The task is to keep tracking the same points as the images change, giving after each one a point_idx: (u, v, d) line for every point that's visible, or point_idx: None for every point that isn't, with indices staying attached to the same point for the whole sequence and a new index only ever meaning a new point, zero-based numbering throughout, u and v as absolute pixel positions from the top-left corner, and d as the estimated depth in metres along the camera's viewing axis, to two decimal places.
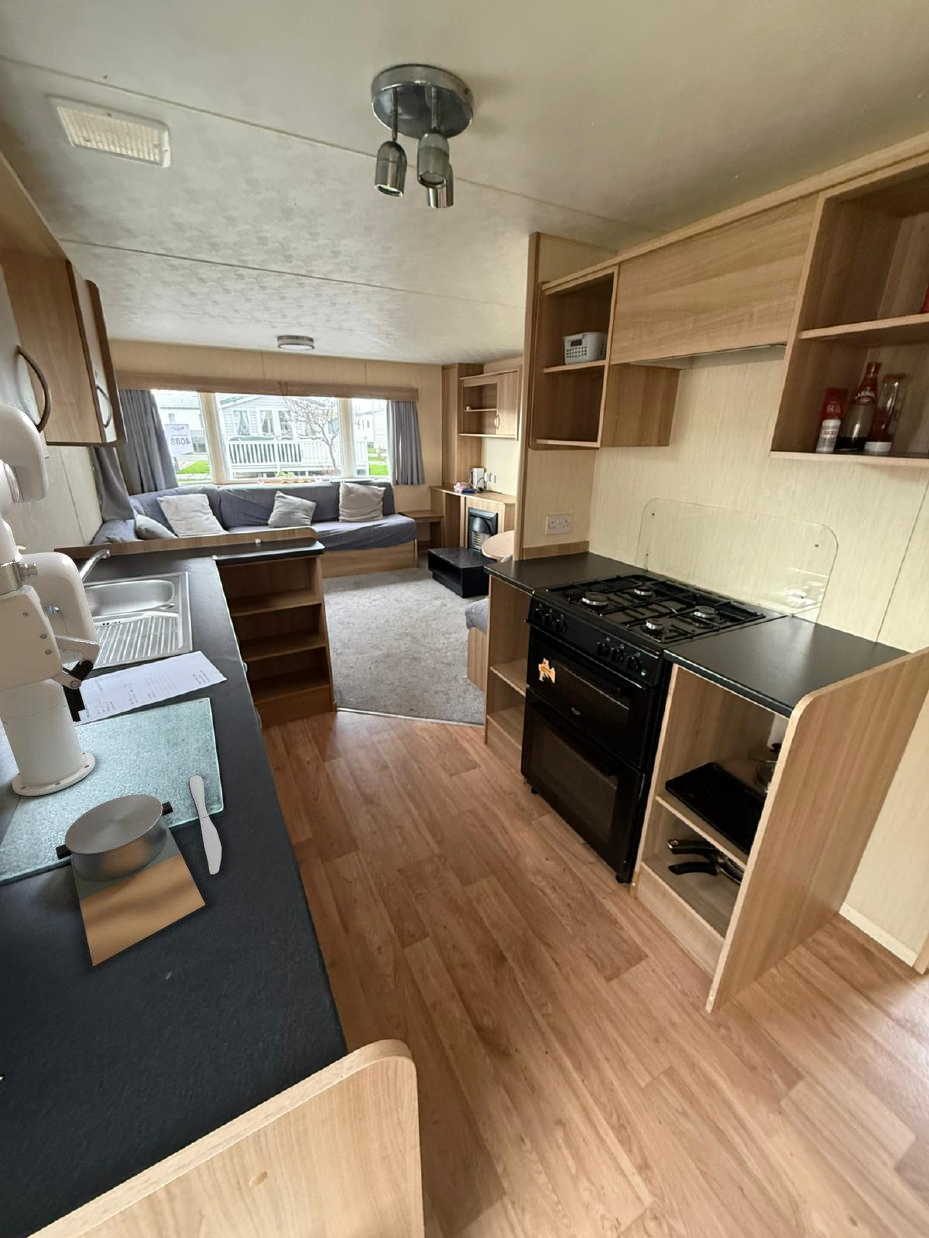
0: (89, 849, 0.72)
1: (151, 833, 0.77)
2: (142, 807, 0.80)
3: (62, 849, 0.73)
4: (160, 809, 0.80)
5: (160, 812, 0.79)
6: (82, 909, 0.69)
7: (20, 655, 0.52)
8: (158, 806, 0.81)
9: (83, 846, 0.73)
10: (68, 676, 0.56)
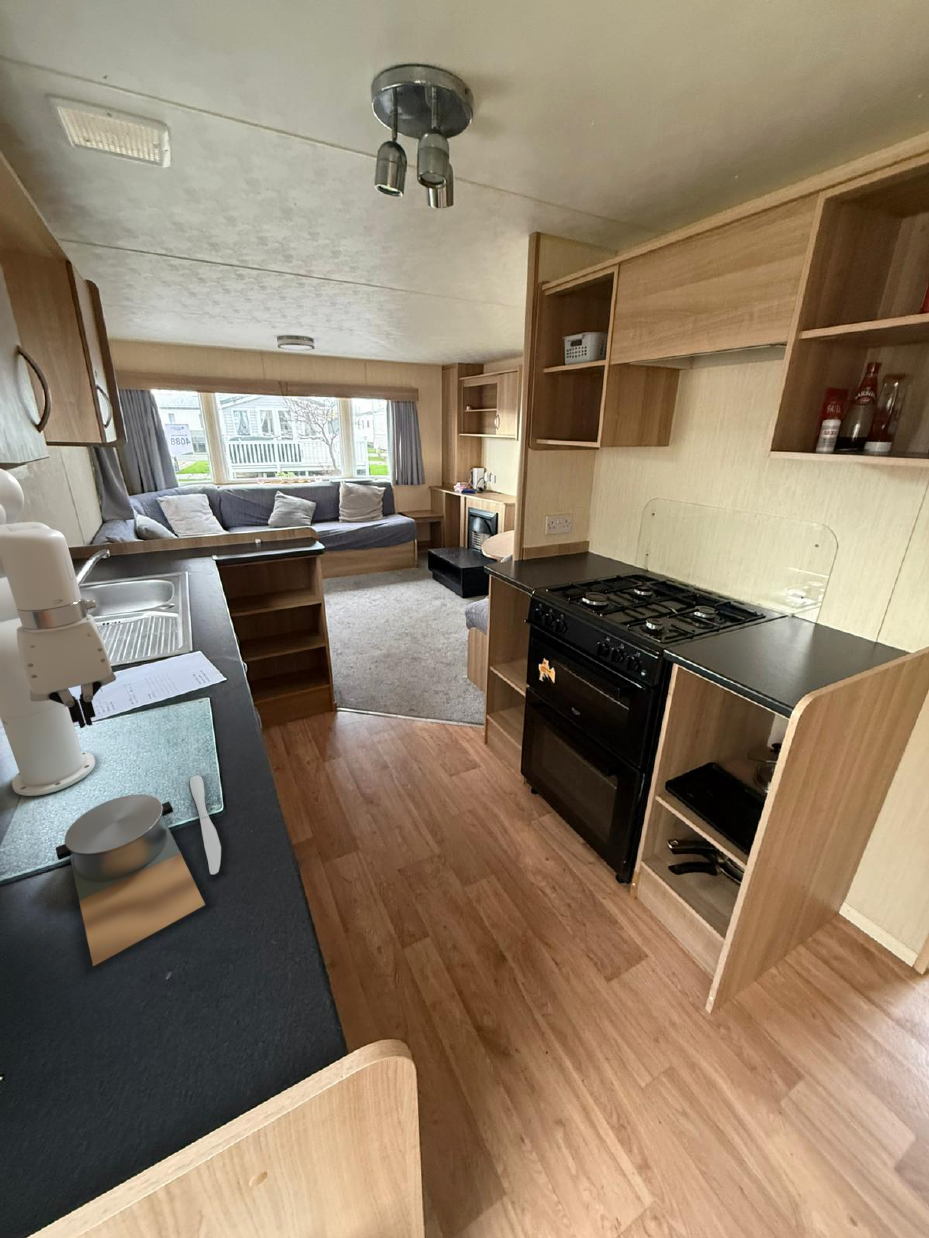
0: (89, 849, 0.72)
1: (151, 833, 0.77)
2: (142, 807, 0.80)
3: (62, 849, 0.73)
4: (160, 809, 0.80)
5: (160, 812, 0.79)
6: (82, 909, 0.69)
7: (85, 663, 0.76)
8: (158, 806, 0.81)
9: (83, 846, 0.73)
10: (91, 691, 0.78)
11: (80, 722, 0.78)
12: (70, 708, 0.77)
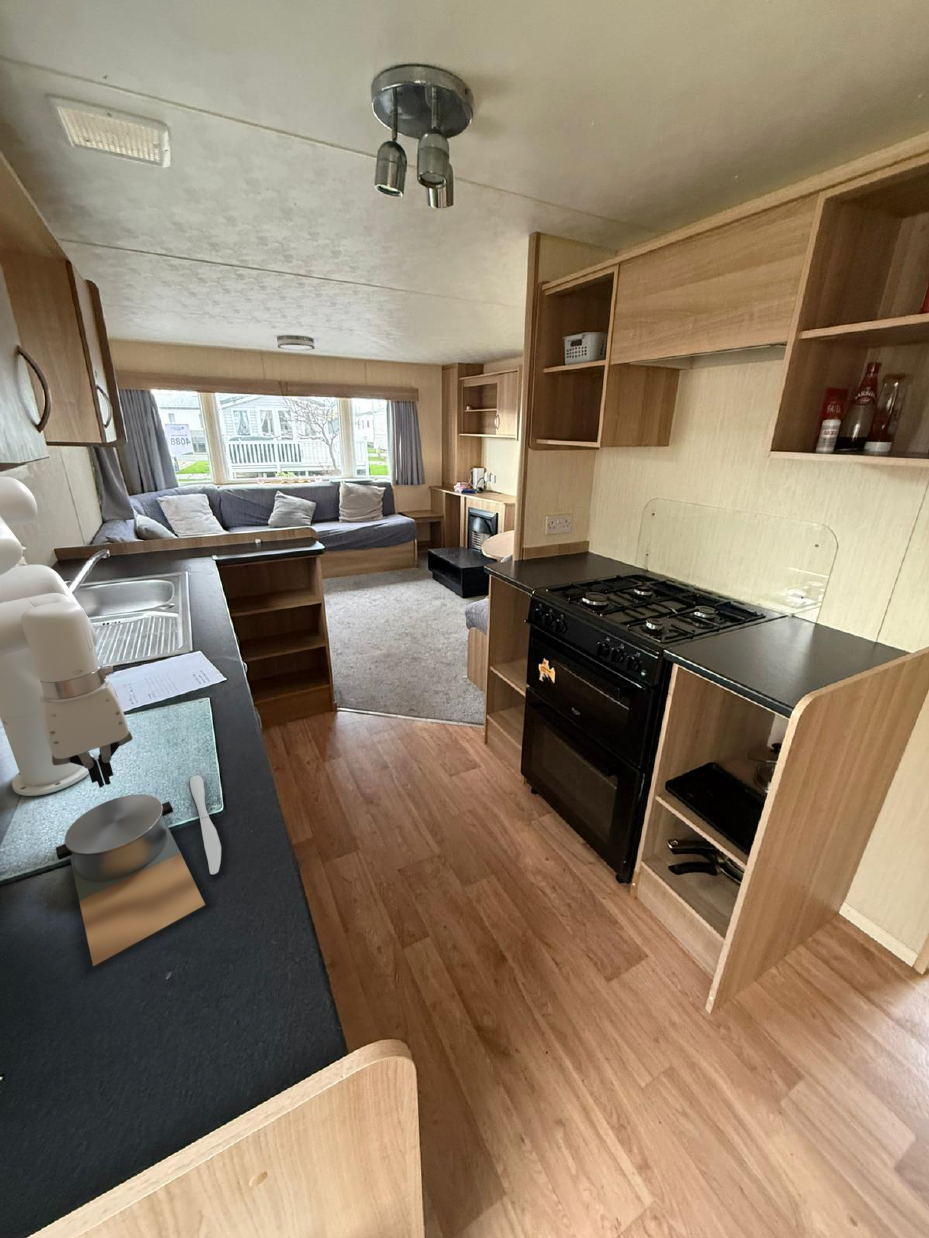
0: (89, 849, 0.72)
1: (151, 833, 0.77)
2: (142, 807, 0.80)
3: (62, 849, 0.73)
4: (160, 809, 0.80)
5: (160, 812, 0.79)
6: (82, 909, 0.69)
7: (103, 726, 0.79)
8: (158, 806, 0.81)
9: (83, 846, 0.73)
10: (109, 752, 0.82)
11: (99, 782, 0.81)
12: (89, 769, 0.81)
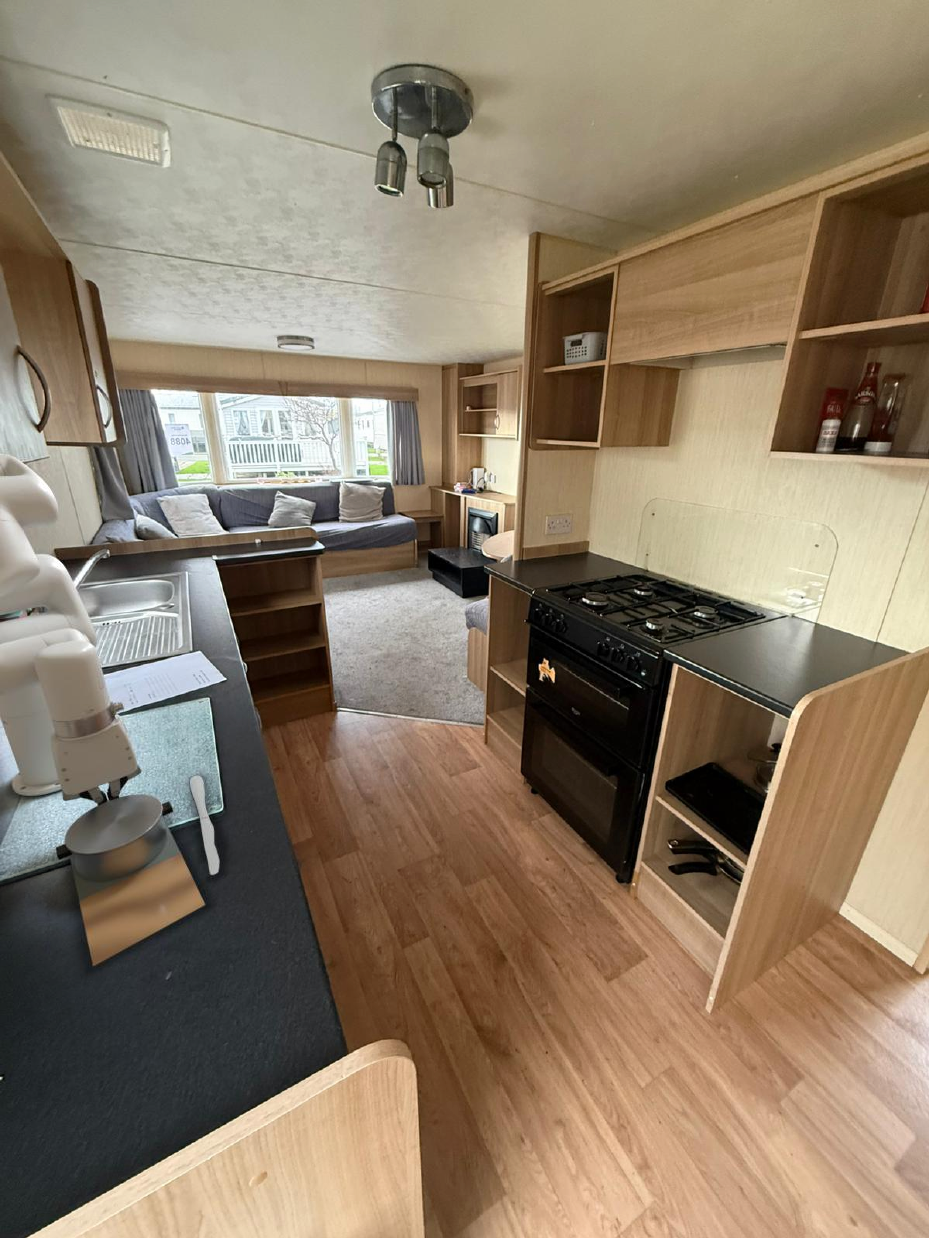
0: (89, 849, 0.72)
1: (151, 833, 0.77)
2: (142, 807, 0.80)
3: (62, 849, 0.73)
4: (160, 809, 0.80)
5: (160, 812, 0.79)
6: (82, 909, 0.69)
7: (113, 762, 0.80)
8: (158, 806, 0.81)
9: (83, 846, 0.73)
10: (118, 786, 0.82)
11: None
12: (99, 803, 0.82)
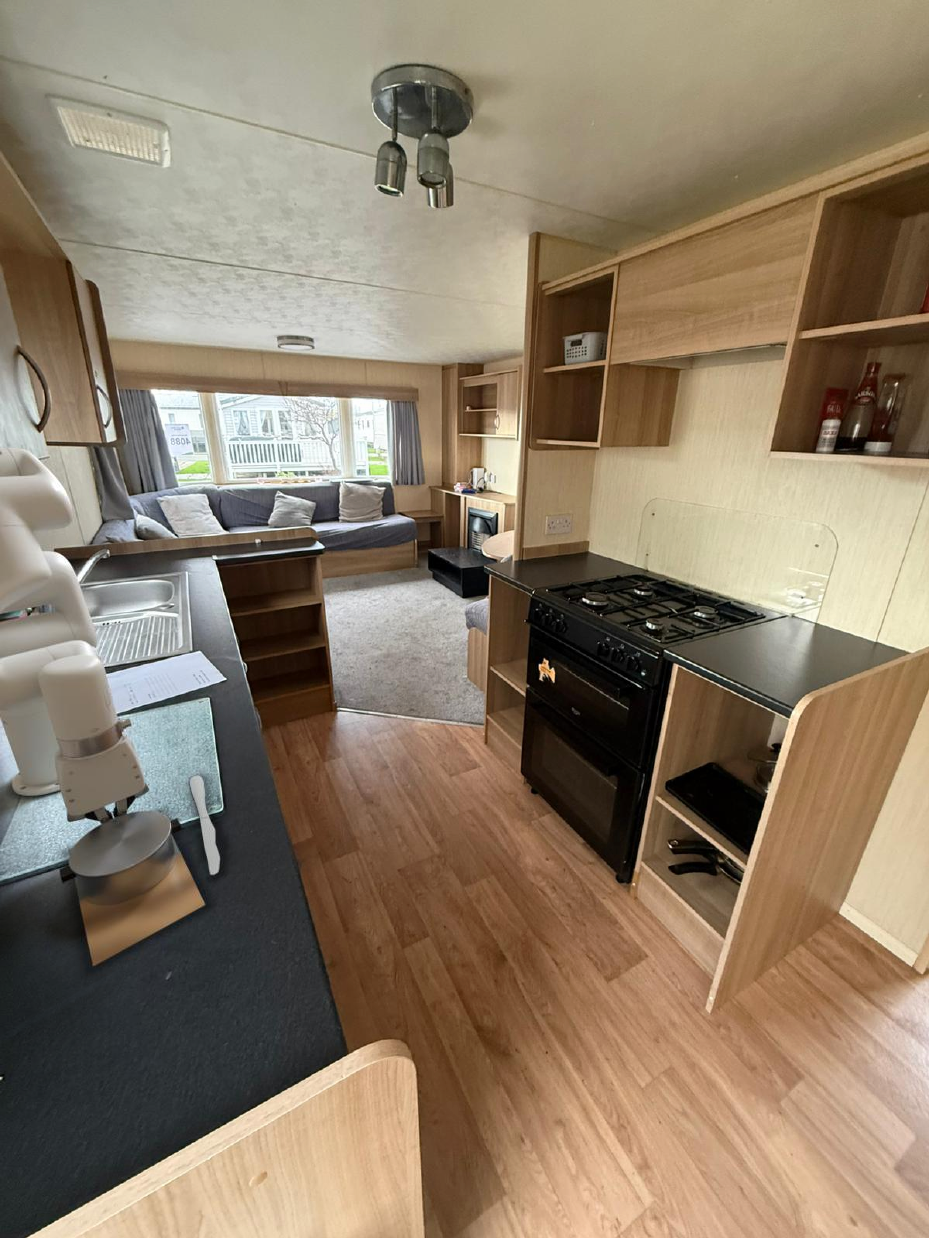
0: (95, 871, 0.68)
1: (159, 852, 0.73)
2: (150, 825, 0.77)
3: (66, 871, 0.70)
4: (168, 827, 0.76)
5: (168, 830, 0.76)
6: (82, 909, 0.69)
7: (120, 781, 0.77)
8: (166, 824, 0.77)
9: (88, 868, 0.69)
10: (125, 806, 0.79)
11: None
12: None
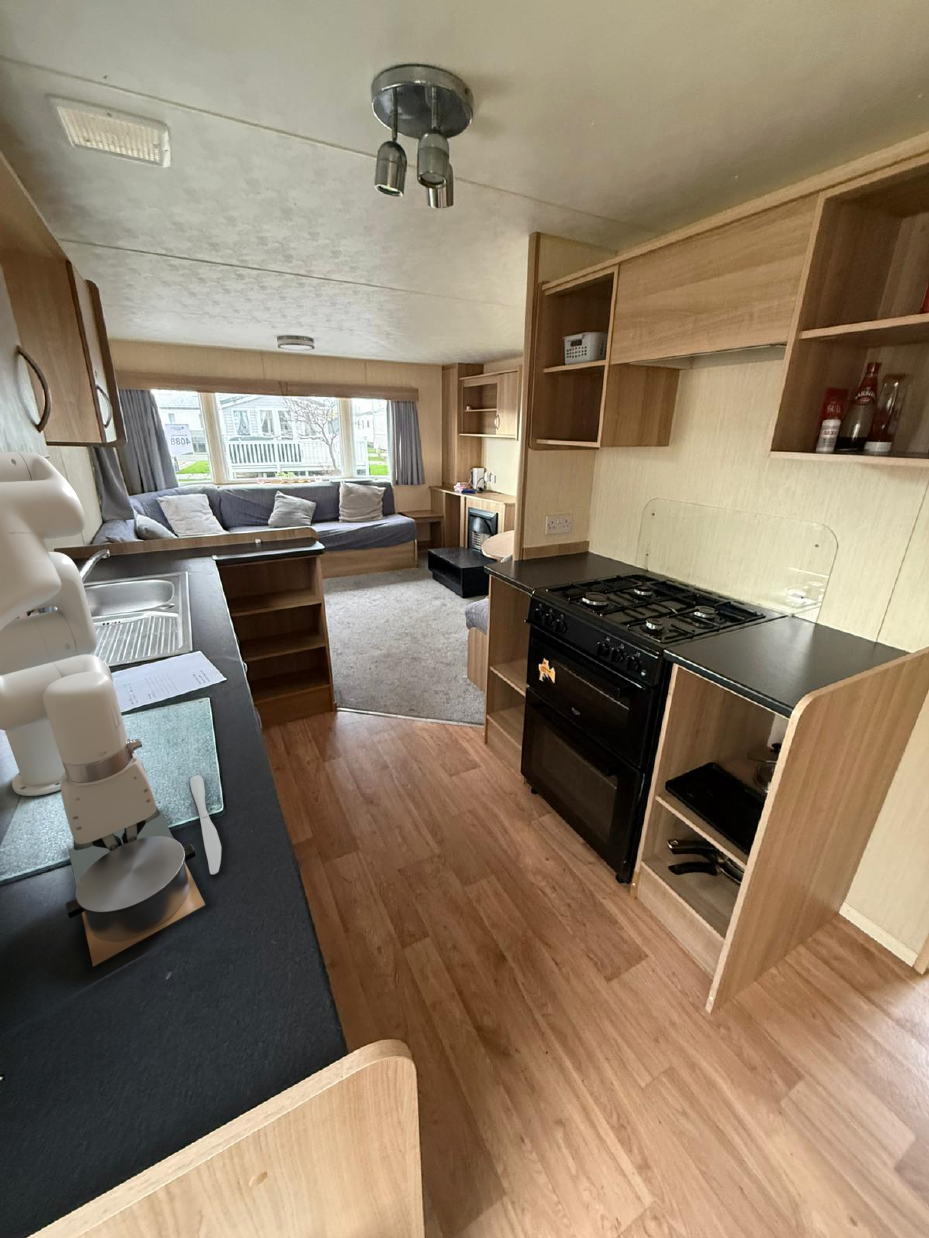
0: (104, 906, 0.63)
1: (173, 883, 0.68)
2: (162, 853, 0.72)
3: (73, 905, 0.64)
4: (182, 854, 0.71)
5: (182, 858, 0.71)
6: None
7: (130, 806, 0.72)
8: (179, 851, 0.72)
9: (97, 902, 0.64)
10: (135, 832, 0.74)
11: None
12: None
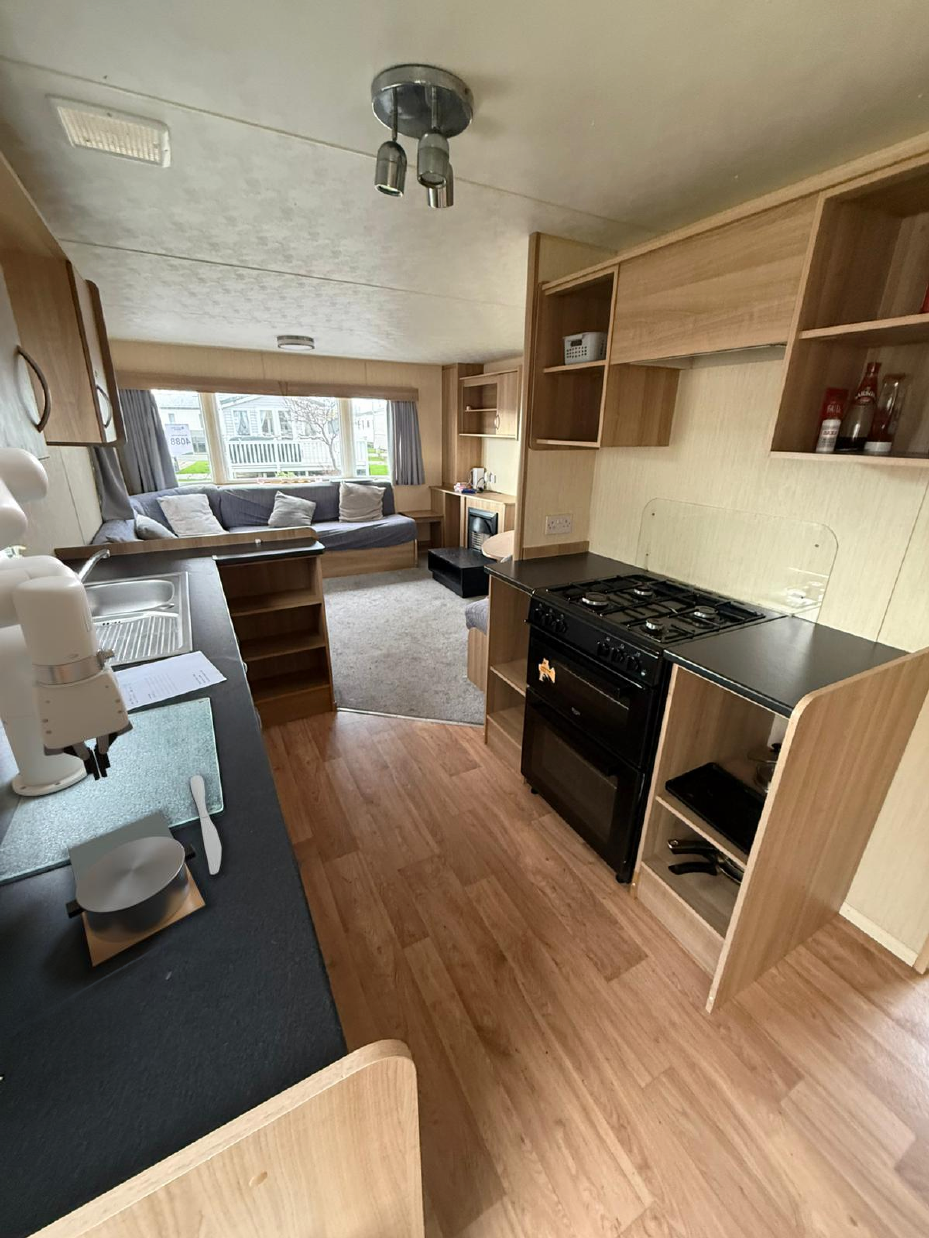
0: (104, 906, 0.63)
1: (173, 883, 0.68)
2: (162, 853, 0.71)
3: (73, 906, 0.64)
4: (182, 855, 0.71)
5: (182, 858, 0.71)
6: None
7: (101, 715, 0.72)
8: (179, 851, 0.72)
9: (97, 903, 0.64)
10: (107, 743, 0.74)
11: (95, 775, 0.74)
12: (85, 760, 0.73)
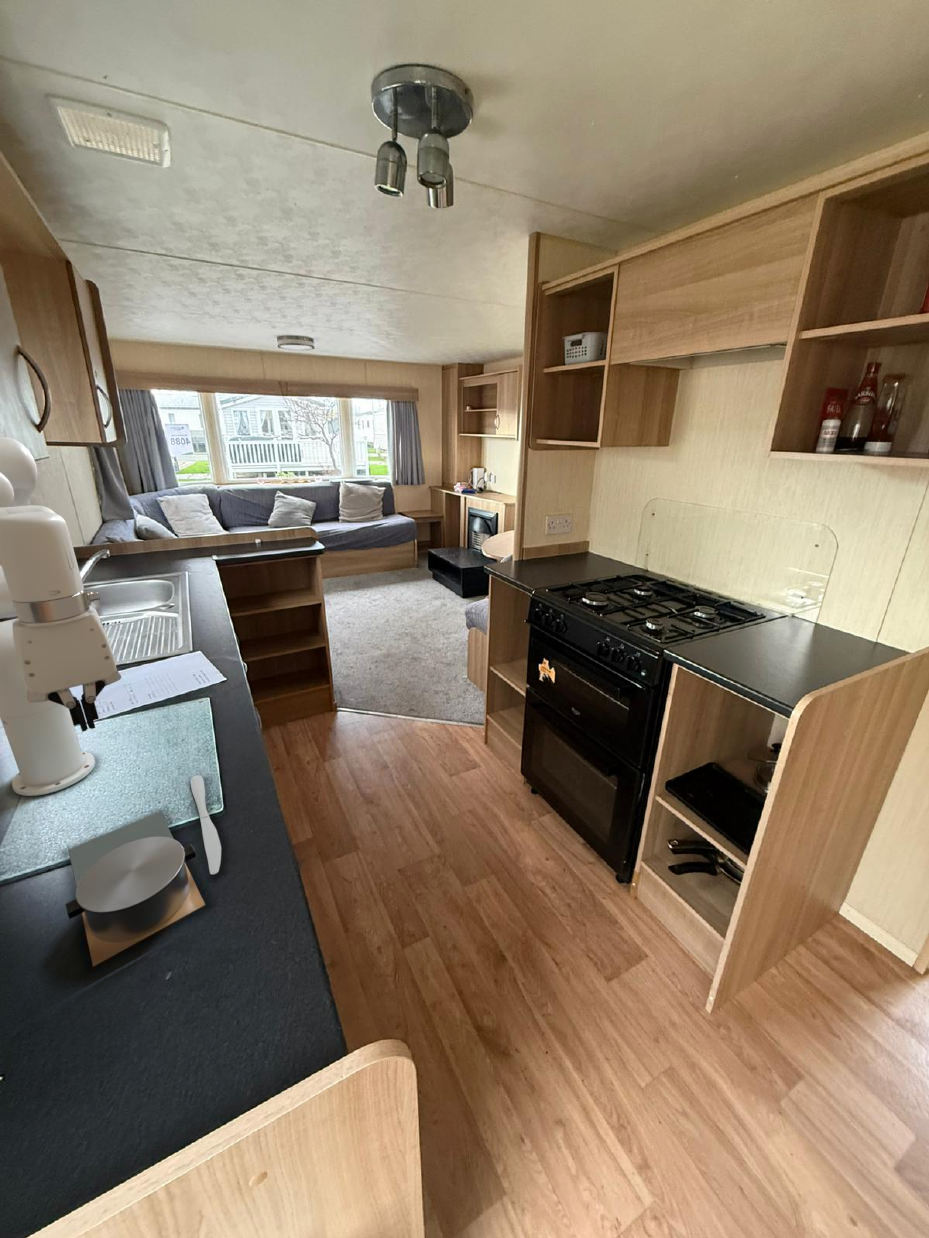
0: (104, 906, 0.63)
1: (173, 883, 0.68)
2: (162, 853, 0.71)
3: (73, 906, 0.64)
4: (182, 855, 0.71)
5: (182, 858, 0.71)
6: None
7: (87, 660, 0.69)
8: (179, 851, 0.72)
9: (97, 903, 0.64)
10: (94, 691, 0.72)
11: (82, 725, 0.71)
12: (71, 710, 0.71)
